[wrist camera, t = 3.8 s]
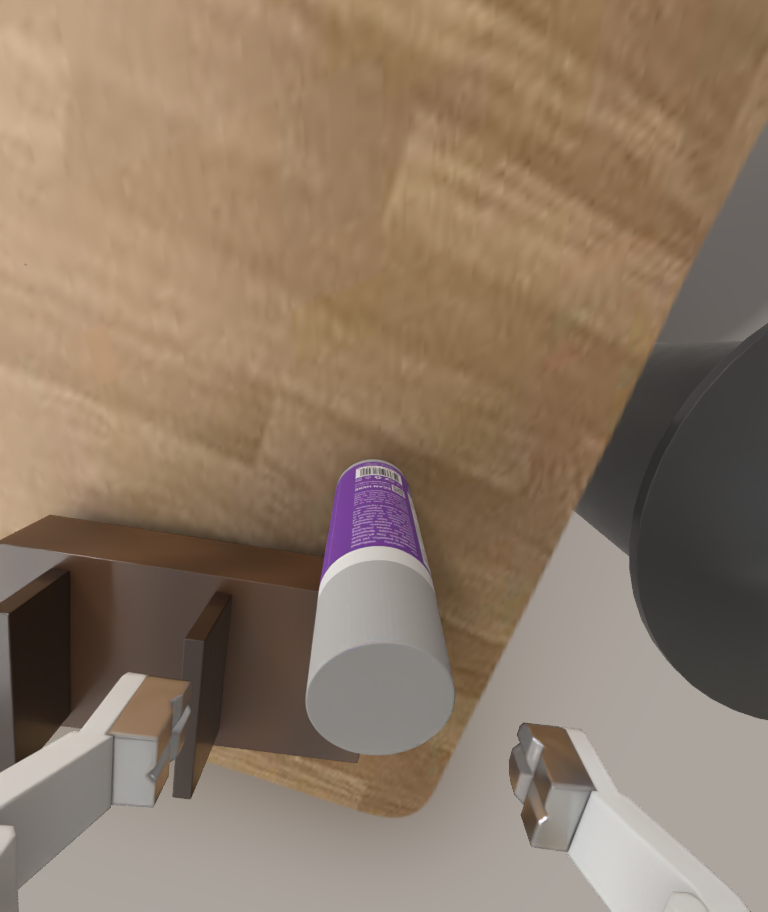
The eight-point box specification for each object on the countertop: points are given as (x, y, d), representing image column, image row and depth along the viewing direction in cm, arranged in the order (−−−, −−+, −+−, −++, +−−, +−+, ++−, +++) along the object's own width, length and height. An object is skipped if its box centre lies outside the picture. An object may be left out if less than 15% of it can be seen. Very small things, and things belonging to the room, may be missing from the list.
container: (320, 492, 26) (266, 703, 12) (374, 443, 25) (385, 609, 11) (371, 539, 28) (377, 781, 13) (424, 494, 27) (491, 701, 13)
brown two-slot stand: (389, 567, 28) (393, 650, 20) (359, 711, 31) (354, 833, 23) (49, 514, 27) (-84, 582, 19) (52, 670, 30) (-63, 784, 22)
